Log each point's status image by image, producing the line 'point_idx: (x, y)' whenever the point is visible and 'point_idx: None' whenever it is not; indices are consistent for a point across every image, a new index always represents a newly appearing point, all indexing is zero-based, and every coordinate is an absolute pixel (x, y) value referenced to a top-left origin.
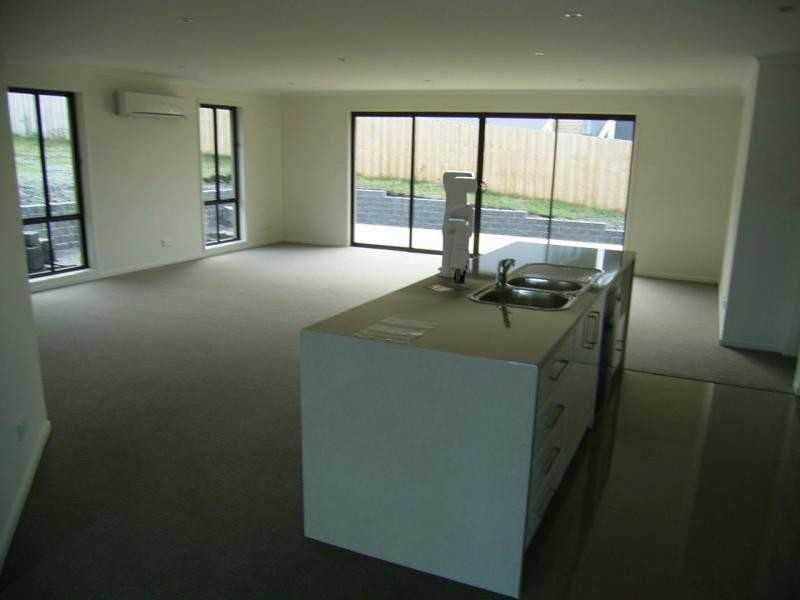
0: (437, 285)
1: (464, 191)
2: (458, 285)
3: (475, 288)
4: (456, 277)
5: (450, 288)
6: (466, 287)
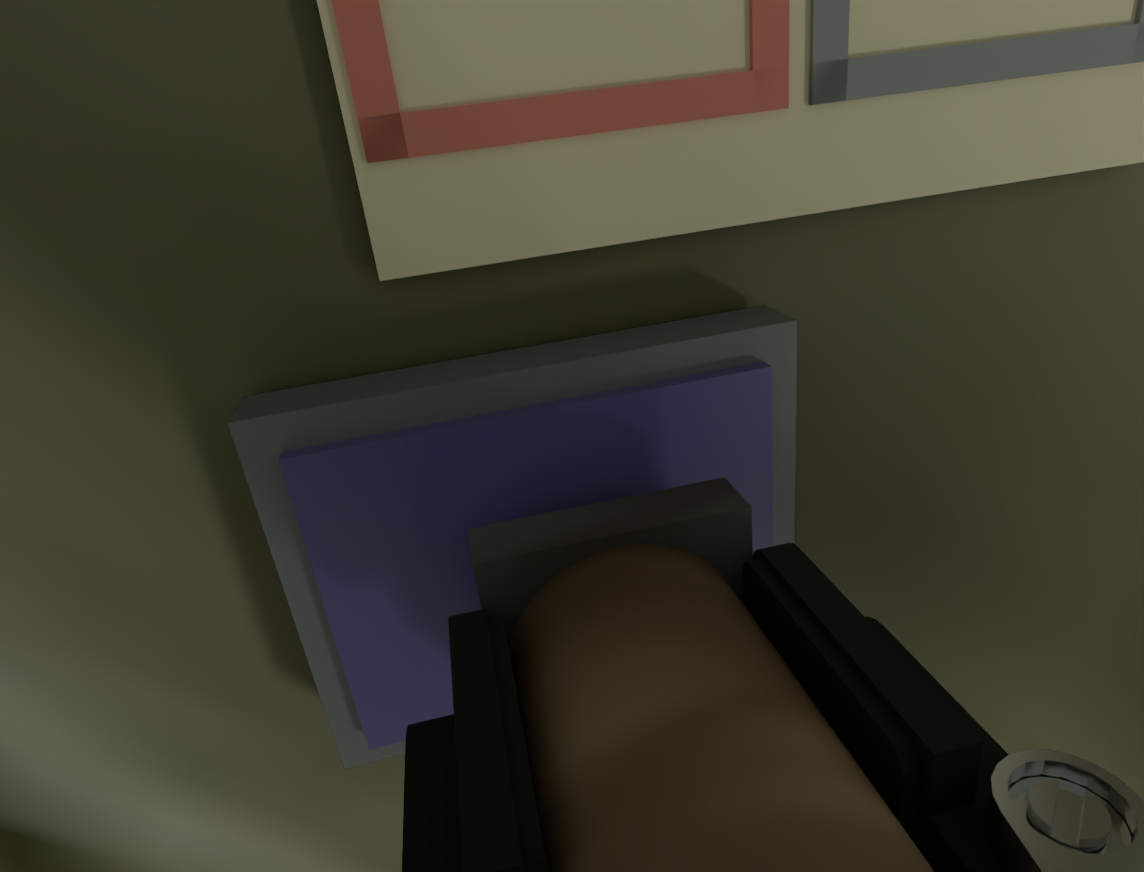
0: (1077, 117)
1: None
2: None
3: None
4: (708, 645)
5: (569, 231)
6: (306, 652)
